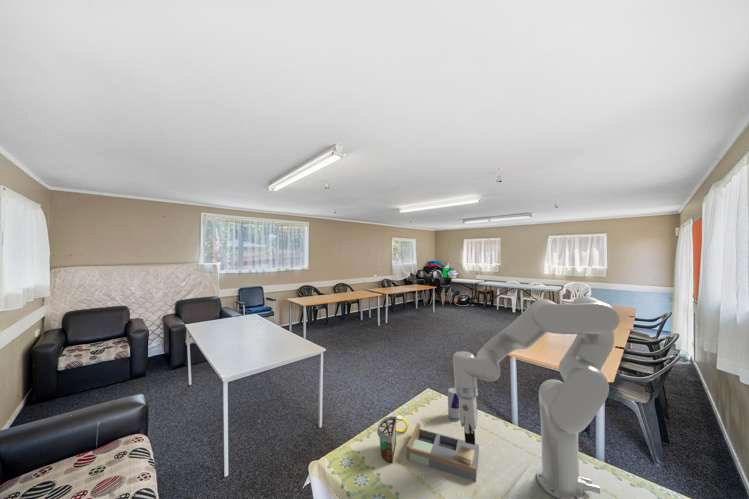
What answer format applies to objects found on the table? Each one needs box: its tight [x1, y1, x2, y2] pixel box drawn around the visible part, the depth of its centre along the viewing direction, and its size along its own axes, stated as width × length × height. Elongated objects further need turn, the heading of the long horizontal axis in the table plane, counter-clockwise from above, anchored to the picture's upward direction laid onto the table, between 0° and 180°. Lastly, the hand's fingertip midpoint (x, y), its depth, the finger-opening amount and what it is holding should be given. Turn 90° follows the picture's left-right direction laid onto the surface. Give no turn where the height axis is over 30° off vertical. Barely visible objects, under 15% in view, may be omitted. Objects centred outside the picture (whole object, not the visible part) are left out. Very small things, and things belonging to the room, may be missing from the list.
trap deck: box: [406, 422, 480, 482], centre depth 95 cm, size 23×14×4 cm, turn 65°
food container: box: [376, 416, 397, 464], centre depth 97 cm, size 12×6×10 cm, turn 168°
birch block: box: [456, 445, 475, 466], centre depth 89 cm, size 5×5×3 cm
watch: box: [395, 414, 409, 434], centre depth 109 cm, size 6×3×6 cm, turn 75°
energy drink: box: [447, 387, 460, 422], centre depth 117 cm, size 5×5×12 cm
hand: (470, 442), depth 92 cm, fingers closed
